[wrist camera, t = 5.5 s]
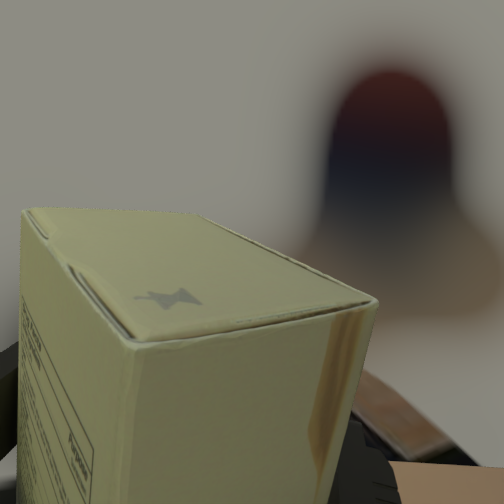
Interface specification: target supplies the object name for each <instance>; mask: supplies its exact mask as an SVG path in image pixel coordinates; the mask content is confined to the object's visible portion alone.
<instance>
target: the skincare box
mask: <svg viewBox="0 0 504 504" xmlns="http://www.w3.org/2000/svg"><path fill="white" fill-rule="evenodd" d="M20 243H21V244H20V298H19V361H18V423H17V484H16V504H327V502H328V498H329V495H330V491H331V487H332V483H333V479H334V475H335V471H336V467H337V464H338V460H339V456H340V452H341V448H342V444H343V440H344V436H345V433H346V430H347V426H348V421H349V417H350V413H351V409H352V405H353V402H354V398H355V394H356V391H357V387H358V383H359V379H360V376H361V372H362V369H363V365H364V361H365V356H366V352H367V348H368V344H369V341H370V337H371V333H372V329H373V325H374V320H375V316H376V314H377V311H378V306H379V302H378V300H377V299H376V298H374V297H372V296H370V295H368V294H366V293H363V292H361V291H358V290H356V289H354V288H352V287H351V286H348V285H345V284H344V283H342V282H340V281H338V280H336V279H334V278H332V277H330V276H329V275H326V274H322V273H321V272H320V271H318V270H316V269H313V268H311V267H308V266H307V265H305V264H303V263H301V262H298V261H296V260H294V259H292V258H290V257H288V256H286V255H283V254H281V253H279V252H277V251H275V250H273V249H271V248H269V247H266V246H264V245H262V244H260V243H258V242H256V241H254V240H251V239H249V238H246V237H245V236H243V235H241V234H238V233H236V232H234V231H232V230H230V229H228V228H225V227H223V226H221V225H219V224H217V223H214V222H212V221H211V220H209V219H206V218H204V217H202V216H200V215H198V214H185V213H173V212H157V211H133V210H108V209H83V208H61V207H39V208H28V209H24V210H22V212H21V241H20Z"/></svg>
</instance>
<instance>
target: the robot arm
mask: <svg viewBox="0 0 504 504" xmlns="http://www.w3.org/2000/svg"><path fill="white" fill-rule="evenodd" d="M18 361H19V341H18V342H16V343H15V344H13V345H12V346H10V347H9V348H7V349H6V350H4V351H3V352H0V461H1V460H2V459H3V458H4V457H5V456H6V455H7V454H8V453H9V452H10V451H11V450H12V449H13V448H14V447H15V446H16V445H17V423H18ZM327 504H402V502H401V498H400V494H399V492H398V486H397V482H396V478H395V474H394V470H393V468H392V466H391V465H390V463H389V462H388V460H387V459H386V458H385V456H384V455H383V453H382V452H381V450H379V449H375V448H371V447H367V446H366V444H365V438H364V433H363V427H362V424H361V423H360V422H356V421H352V420H349V421H348V426H347V430H346V433H345V436H344V440H343V444H342V448H341V452H340V456H339V460H338V464H337V467H336V471H335V475H334V479H333V483H332V487H331V491H330V495H329V498H328V502H327Z"/></svg>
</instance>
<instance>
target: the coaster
mask: <svg viewBox="0 0 504 504" xmlns="http://www.w3.org/2000/svg"><path fill="white" fill-rule="evenodd" d="M388 462H389V463H390V465H391V466H392V468H393V470H394V474H395V478H396V482H397V486H398V492H399V494H400V498H401V502H402V504H504V468H494V467H478V466H462V465H445V464H429V463H412V462H396V461H388Z"/></svg>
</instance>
